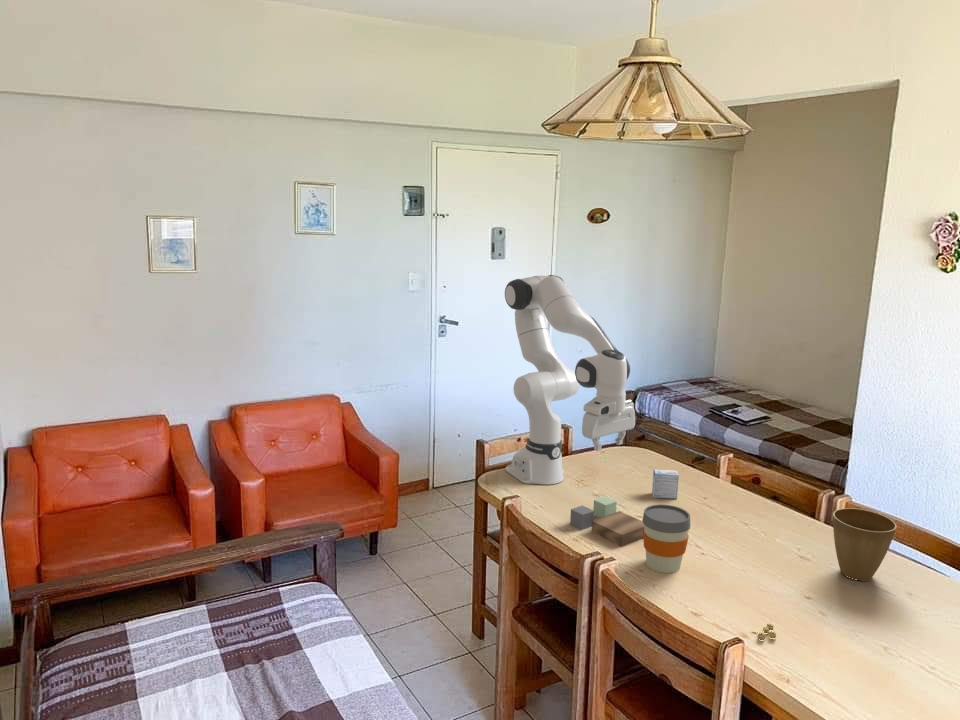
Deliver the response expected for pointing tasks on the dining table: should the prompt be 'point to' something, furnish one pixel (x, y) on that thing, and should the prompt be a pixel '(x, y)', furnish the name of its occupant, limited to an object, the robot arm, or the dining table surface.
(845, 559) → the plant pot
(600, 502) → the sage block
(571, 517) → the charcoal block
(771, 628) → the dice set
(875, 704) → the dining table surface
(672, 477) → the medicine box
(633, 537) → the walnut plinth
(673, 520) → the reusable coffee cup
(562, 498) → the dining table surface
